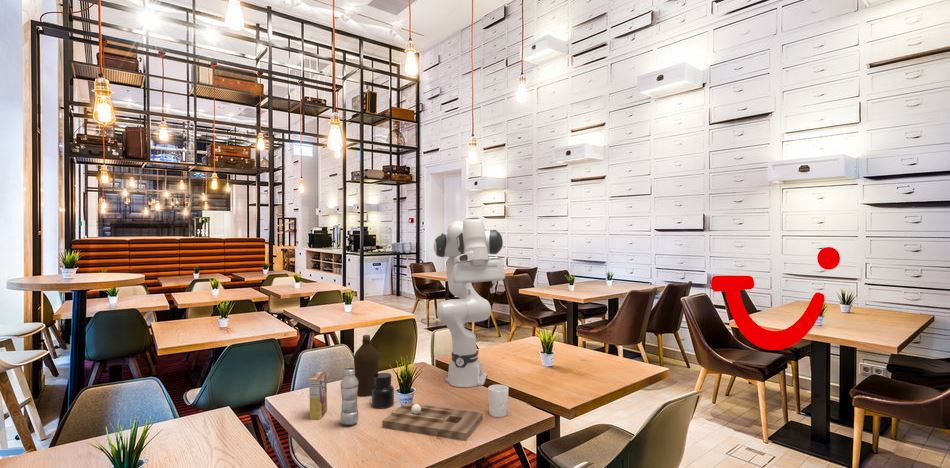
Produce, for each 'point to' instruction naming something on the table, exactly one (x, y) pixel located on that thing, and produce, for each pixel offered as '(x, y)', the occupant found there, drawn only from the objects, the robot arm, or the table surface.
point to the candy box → (318, 395)
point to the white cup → (498, 400)
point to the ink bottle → (382, 391)
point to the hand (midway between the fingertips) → (480, 293)
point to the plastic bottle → (349, 397)
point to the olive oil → (366, 366)
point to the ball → (416, 409)
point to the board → (434, 421)
